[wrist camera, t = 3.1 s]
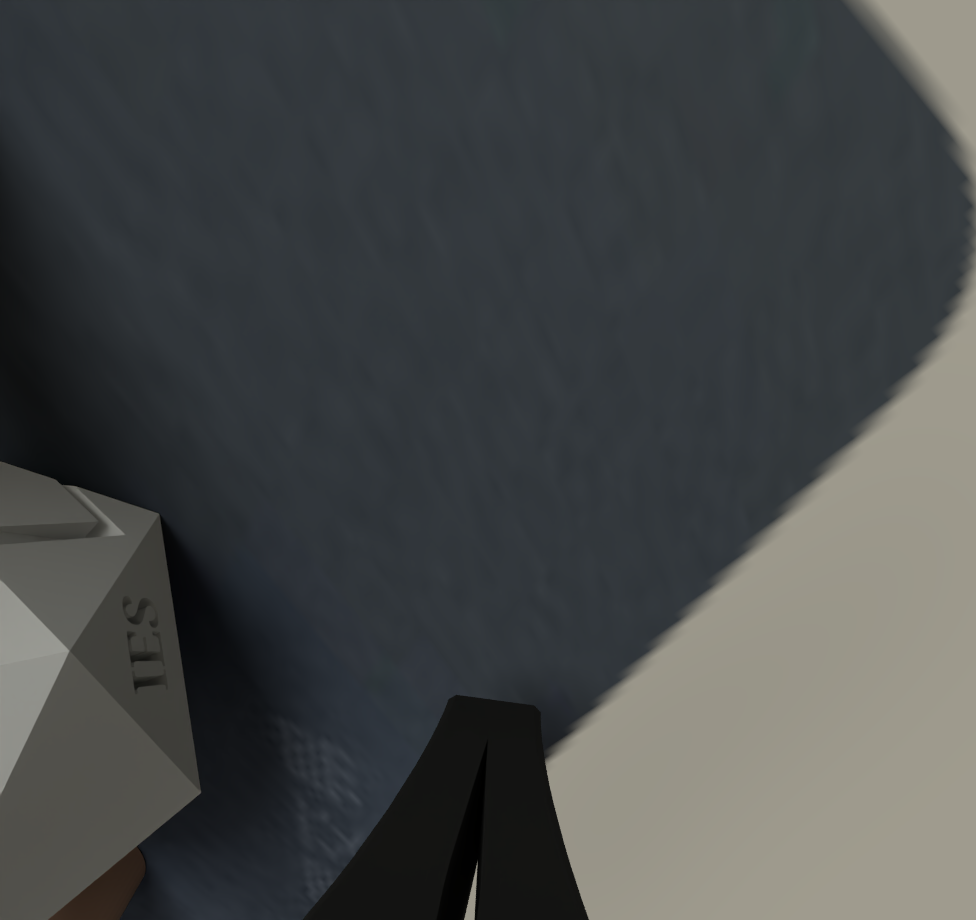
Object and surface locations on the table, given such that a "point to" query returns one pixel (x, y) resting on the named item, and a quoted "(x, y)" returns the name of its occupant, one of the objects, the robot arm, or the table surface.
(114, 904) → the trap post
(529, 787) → the robot arm
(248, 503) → the table surface
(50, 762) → the die
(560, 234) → the table surface
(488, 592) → the table surface
